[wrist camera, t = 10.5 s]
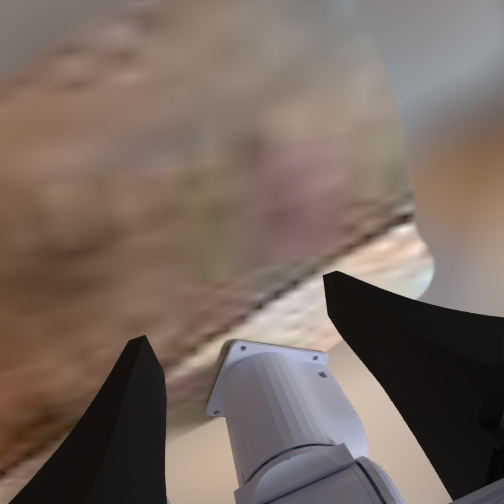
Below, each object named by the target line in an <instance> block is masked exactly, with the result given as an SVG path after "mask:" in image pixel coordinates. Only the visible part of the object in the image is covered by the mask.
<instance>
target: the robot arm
mask: <svg viewBox="0 0 504 504" xmlns="http://www.w3.org/2000/svg"><path fill="white" fill-rule="evenodd" d="M323 281H324V289H325V297H326V305H327V313H328V316H329V318H330V319H331V321H332V323H333V324H334V326H335V327H336V329H337V331H338V332H339V334H340V335H341V336H342V338H343V339H344V340H345V341H346V342H347V344H348V345H349V346H350V348H351V349H352V350H353V351H354V353H355V354H356V355H357V356H358V357H359V358H360V360H361V361H362V362H363V363H364V364H365V366H366V367H367V368H368V370H369V371H370V372H371V373H372V374H373V376H374V377H375V378H376V379H377V381H378V382H379V383H380V384H381V386H382V387H383V389H384V390H385V392H386V393H387V395H388V396H389V397H390V399H391V401H392V402H393V404H394V405H395V407H396V408H397V410H398V411H399V413H400V414H401V416H402V417H403V419H404V421H405V422H406V424H407V425H408V427H409V428H410V430H411V431H412V433H413V435H414V436H415V437H416V439H417V441H418V443H419V444H420V446H421V448H422V449H423V451H424V452H425V454H426V456H427V458H428V459H429V461H430V462H431V464H432V466H433V467H434V469H435V471H436V472H437V474H438V476H439V478H440V479H441V481H442V483H443V485H444V486H445V488H446V490H447V492H448V493H449V495H450V497H451V498H452V500H453V502H451V503H449V504H504V317H496V316H488V315H481V314H475V313H469V312H464V311H459V310H453V309H449V308H444V307H440V306H435V305H431V304H428V303H424V302H420V301H417V300H413V299H410V298H407V297H404V296H401V295H398V294H395V293H392V292H389V291H387V290H384V289H381V288H379V287H376V286H374V285H371V284H369V283H366V282H364V281H361V280H359V279H357V278H354V277H352V276H349V275H347V274H344V273H342V272H339V271H334V272H331V273H328V274H325V275H323ZM242 346H245V347H244V348H241V347H242ZM314 356H315V357H314ZM328 360H329V356H328V354H327V353H325V352H318V351H311V350H304V349H297V348H290V347H283V346H276V345H269V344H262V343H255V342H248V341H241V340H235V341H233V342H232V343H231V345H230V348H229V351H228V353H227V356H226V358H225V361H224V363H223V366H222V368H221V371H220V373H219V376H218V378H217V381H216V384H215V386H214V389H213V391H212V394H211V396H210V399H209V401H208V404H207V406H206V409H205V412H206V415H207V416H216V417H225V418H226V423H227V428H228V433H229V437H230V443H231V448H232V453H233V458H234V464H235V469H236V474H237V479H238V484H239V489H237V490H235V491H234V496H235V501H236V504H406V502H405V501H404V499H403V497H402V496H401V494H400V492H399V491H398V489H397V488H396V486H395V484H394V483H393V482H392V480H391V479H390V477H389V476H388V475H387V473H386V472H385V471H384V470H383V469H382V467H380V466H379V465H378V464H377V463H375V462H373V461H371V460H369V459H368V442H367V437H366V433H365V430H364V426H363V424H362V421H361V419H360V417H359V415H358V414H357V412H356V411H355V409H354V408H353V406H352V405H351V403H350V402H349V400H348V398H347V397H346V395H345V394H344V392H343V390H342V389H341V388H340V386H339V385H338V383H337V381H336V380H335V378H334V377H333V375H332V374H331V372H330V370H329V369H328V367H327V366H326V364H327V362H328ZM166 407H167V397H166V386H165V376H164V372H163V370H162V368H161V366H160V363H159V361H158V359H157V357H156V355H155V353H154V351H153V349H152V347H151V345H150V343H149V341H148V339H147V337H146V335H143V336H141V337H138V338H135V339H132V340H129V341H128V343H127V345H126V346H125V348H124V350H123V352H122V353H121V355H120V357H119V359H118V360H117V362H116V364H115V366H114V367H113V369H112V371H111V373H110V374H109V376H108V378H107V379H106V381H105V383H104V384H103V386H102V388H101V389H100V391H99V392H98V394H97V395H96V397H95V398H94V400H93V401H92V403H91V404H90V406H89V407H88V409H87V411H86V412H85V414H84V415H83V416H82V418H81V419H80V421H79V422H78V423H77V425H76V426H75V427H74V429H73V430H72V431H71V433H70V434H69V435H68V436H67V438H66V439H65V440H64V442H63V443H62V444H61V445H60V447H59V448H58V449H57V450H56V451H55V453H54V454H53V455H52V456H51V457H50V458H49V460H48V461H47V462H46V463H45V464H44V465H43V466H42V468H41V469H40V470H39V471H38V472H37V473H36V475H35V476H34V477H33V478H32V479H31V480H30V481H29V482H28V484H27V485H26V486H25V487H24V488H23V489H22V490H21V491H20V492H19V493H18V494H17V495H16V496H15V497H14V498H13V499H12V500H11V501H10V502H9V503H8V504H167V498H166V483H165V440H166ZM217 410H218V411H217Z"/></svg>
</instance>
